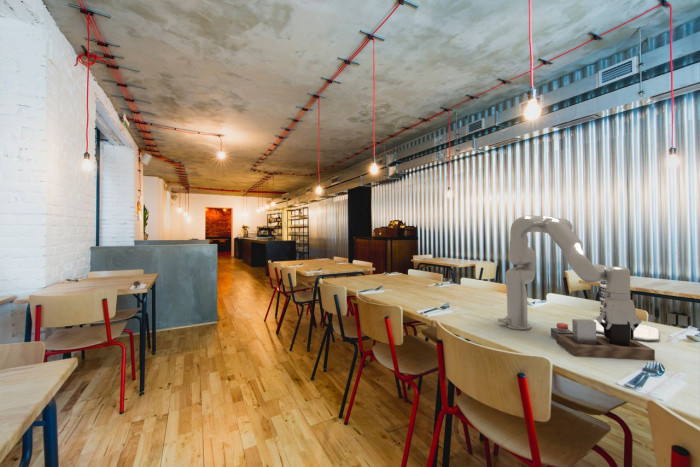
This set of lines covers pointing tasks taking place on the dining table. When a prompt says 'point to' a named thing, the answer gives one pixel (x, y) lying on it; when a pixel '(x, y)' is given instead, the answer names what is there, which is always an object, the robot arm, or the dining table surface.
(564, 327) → the button
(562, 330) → the button housing
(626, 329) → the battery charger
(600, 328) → the plate
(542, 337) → the dining table surface
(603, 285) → the decorative candle
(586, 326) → the wooden sorting tray
